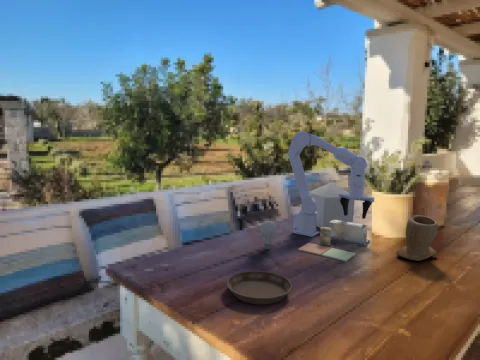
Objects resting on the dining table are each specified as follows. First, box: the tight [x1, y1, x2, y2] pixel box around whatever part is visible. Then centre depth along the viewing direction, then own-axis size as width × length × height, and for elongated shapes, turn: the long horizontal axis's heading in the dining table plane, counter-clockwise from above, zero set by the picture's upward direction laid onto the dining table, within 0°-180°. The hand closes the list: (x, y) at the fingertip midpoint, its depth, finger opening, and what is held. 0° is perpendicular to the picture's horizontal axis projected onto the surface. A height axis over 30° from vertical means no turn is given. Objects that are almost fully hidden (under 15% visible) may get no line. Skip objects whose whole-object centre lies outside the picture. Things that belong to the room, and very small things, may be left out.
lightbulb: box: [259, 220, 277, 251], centre depth 133 cm, size 6×6×11 cm
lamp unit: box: [329, 220, 371, 247], centre depth 146 cm, size 16×7×7 cm, turn 53°
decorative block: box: [310, 182, 355, 229], centre depth 170 cm, size 16×16×20 cm
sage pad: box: [321, 247, 356, 262], centre depth 129 cm, size 9×9×1 cm
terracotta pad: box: [297, 242, 332, 256], centre depth 135 cm, size 9×9×1 cm
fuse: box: [319, 227, 331, 247], centre depth 141 cm, size 4×4×6 cm
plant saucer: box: [226, 270, 293, 305], centre depth 99 cm, size 18×18×3 cm
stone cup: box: [395, 214, 439, 262], centre depth 127 cm, size 15×12×15 cm
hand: (354, 216), depth 151 cm, fingers open, 7 cm apart
